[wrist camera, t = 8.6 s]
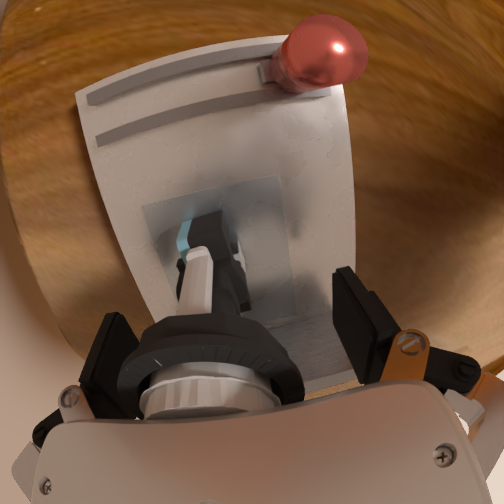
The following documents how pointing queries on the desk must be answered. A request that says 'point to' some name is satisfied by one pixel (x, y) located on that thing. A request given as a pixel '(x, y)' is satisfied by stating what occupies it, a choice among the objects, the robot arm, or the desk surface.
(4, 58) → the desk surface
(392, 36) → the desk surface
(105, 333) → the robot arm
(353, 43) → the lever
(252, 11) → the desk surface
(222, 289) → the push button
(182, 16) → the desk surface
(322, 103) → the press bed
